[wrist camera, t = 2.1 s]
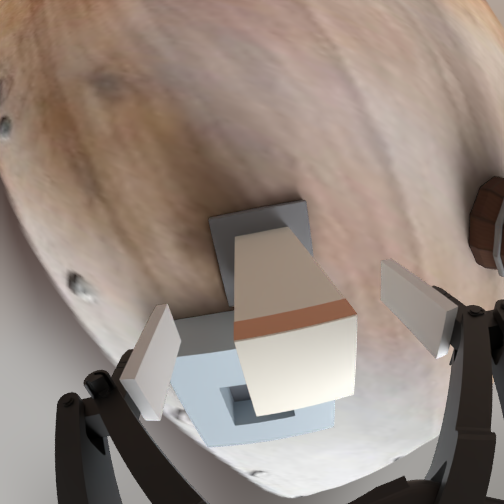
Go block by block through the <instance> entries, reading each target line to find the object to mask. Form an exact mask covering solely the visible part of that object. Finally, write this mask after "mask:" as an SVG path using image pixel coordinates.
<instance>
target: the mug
mask: <svg viewBox="0 0 504 504" xmlns="http://www.w3.org/2000/svg"><path fill="white" fill-rule="evenodd" d="M469 245H470V248H471V250H472V252H473V255H474V257H475V259H476V262H477V264H479V265H481V266H483V267H484V268H489V269H497V270H498V273H499V275H500V276H502V277H504V178H501V177H496V176H494V177H493V178H492V179H490V180H489V181H488V182H487V183H485V184H484V185H483V186H481V187H480V190H479V192H478V195H477V198H476V201H475V203H474V206H473V209H472V211H471V214H470V237H469Z"/></svg>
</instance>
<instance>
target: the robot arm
mask: <svg viewBox="0 0 504 504" xmlns="http://www.w3.org/2000/svg"><path fill="white" fill-rule="evenodd" d="M381 301H382V302H383V303H384V304H385V305H386V306H387V307H388V308H389V309H390V310H391V311H392V312H393V313H394V314H395V315H396V316H397V317H398V318H399V319H400V320H401V321H402V322H403V323H404V325H405V326H406V327H407V328H408V329H409V330H410V331H411V332H412V333H413V334H414V335H415V336H416V337H417V339H418V340H419V341H420V342H421V343H422V344H423V345H424V346H425V347H426V348H427V350H428V351H429V352H430V353H431V354H432V355H433V356H434V357H435V358H436V359H438V358H440V357H442V356H444V355H446V354H447V353H448V350H449V346H450V344H451V345H452V346H453V347H454V351H453V354H452V358H451V361H450V364H449V365H451V364H452V366H451V375H450V383H449V390H448V396H447V402H446V408H445V413H444V418H443V423H442V427H441V432H440V436H439V440H438V443H437V447H436V451H435V454H434V458H433V461H432V464H431V467H430V469H429V471H428V473H427V475H426V477H425V479H424V480H410V481H406V478H405V476H403V477H400V478H398V479H396V480H393V481H391V482H389V483H386V484H383V485H381V486H378V487H376V488H374V489H373V490H371V491H369V492H368V493H366V494H364V495H363V496H361V497H359V498H357V499H356V500H354V501H352V502H350V503H348V504H504V500H500V499H495V498H491V497H486V494H487V489H488V485H489V481H490V476H491V471H492V465H493V459H494V452H495V444H496V434H495V433H494V432H493V433H492V432H491V417H492V375H493V378H494V382H495V385H496V389H497V392H498V396H499V400H500V404H501V408H502V413H503V418H504V300H498V301H497V302H496V304H495V307H494V310H490V311H485V310H484V309H483V308H482V307H479V306H476V305H469V306H467V307H466V306H465V305H464V304H462V303H461V302H460V301H458V300H457V299H456V298H454V297H452V296H451V295H450V294H449V293H447V292H446V291H445V290H443V289H442V288H439V287H436V286H430V285H429V284H427V283H426V282H425V281H423V280H422V279H420V278H419V277H418V276H416V275H415V274H413V273H412V272H410V271H409V270H408V269H406V268H405V267H403V266H402V265H400V264H399V263H397V262H396V261H394V260H393V259H386V260H382V261H381ZM180 344H181V339H180V336H179V334H178V331H177V328H176V325H175V323H174V320H173V317H172V314H171V312H170V309H169V306H168V304H162V305H156V307H155V308H154V310H153V312H152V314H151V316H150V318H149V320H148V322H147V324H146V326H145V328H144V330H143V332H142V334H141V336H140V338H139V340H138V342H137V344H136V346H135V348H134V349H130V350H128V351H126V352H125V353H124V354H123V355H122V357H121V359H120V361H119V363H118V365H117V367H116V369H115V371H114V373H113V375H112V377H110V375H109V373H108V372H107V371H104V370H97V371H95V372H93V373H91V374H89V375H88V376H87V377H86V378H85V380H84V386H85V388H86V390H87V391H88V393H89V394H90V395H91V397H90V398H86V399H81V398H80V397H79V396H78V394H76V393H73V392H71V393H67V394H65V395H63V396H62V397H61V398H60V399H59V401H58V404H57V413H56V431H55V471H56V487H57V496H58V504H122V501H121V498H120V494H119V490H118V486H117V483H116V479H115V475H114V470H113V466H112V461H111V456H110V451H109V445H108V439H107V436H110V437H111V438H112V440H113V442H114V444H115V446H116V448H117V449H118V451H119V453H120V455H121V457H122V458H123V460H124V462H125V463H126V465H127V467H128V468H129V470H130V472H131V473H132V475H133V477H134V478H135V480H136V481H137V483H138V484H139V486H140V487H141V489H142V490H143V492H144V493H145V494H146V496H147V497H148V499H149V500H150V501H151V503H152V504H209V503H208V502H207V501H206V500H205V499H204V498H203V497H202V496H201V495H200V494H199V493H198V492H197V491H196V490H195V489H194V487H193V486H192V485H191V484H190V483H189V482H188V481H187V480H186V479H185V478H184V477H183V476H182V474H181V473H180V472H179V471H178V470H177V469H176V468H175V466H174V465H173V464H172V463H171V462H170V461H169V459H168V458H167V457H166V455H165V454H164V453H163V452H162V451H161V449H160V448H159V447H158V445H157V444H156V443H155V441H154V440H153V439H152V437H151V436H150V435H149V433H148V432H147V431H146V429H145V428H144V427H143V425H142V424H141V422H140V421H139V416H140V413H141V414H142V416H143V417H144V419H145V420H146V421H160V420H161V416H162V412H163V408H164V404H165V400H166V396H167V392H168V388H169V384H170V380H171V377H172V373H173V369H174V365H175V362H176V358H177V354H178V351H179V347H180Z"/></svg>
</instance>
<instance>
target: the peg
mask: <svg viewBox="0 0 504 504" xmlns="http://www.w3.org/2000/svg"><path fill="white" fill-rule="evenodd" d="M234 343H235V347H236V350H237V354H238V357H239V361H240V364H241V368H242V371H243V374H244V378H245V381H246V384H247V388H248V391H249V394H250V397H251V401H252V404H253V407H254V410H255V413H256V416H263V415H269V414H275V413H280V412H286V411H291V410H295V409H300V408H304V407H309V406H313V405H317V404H321V403H325V402H329V401H332V400H336V399H340V398H343V397H347V396H350V395H353V394H354V383H355V369H356V349H357V313H356V312H355V310H354V309H353V308H352V306H351V305H350V304H349V302H348V301H347V300H346V299H345V298H344V297H343V296H342V294H341V293H340V292H339V290H338V289H337V288H336V286H335V285H334V284H333V283H332V281H331V280H330V279H329V277H328V276H327V275H326V274H325V272H324V271H323V270H322V268H321V267H320V266H319V265H318V263H317V262H316V261H315V259H314V258H313V257H312V256H311V254H310V253H309V252H308V251H307V249H306V248H305V247H304V246H303V244H302V243H301V242H300V241H299V239H298V238H297V237H296V236H295V235H294V233H293V232H292V231H291V230H290V228H289V227H283V228H278V229H272V230H267V231H262V232H257V233H252V234H246V235H241V236H236V237H235V263H234Z"/></svg>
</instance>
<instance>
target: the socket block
mask: <svg viewBox="0 0 504 504" xmlns="http://www.w3.org/2000/svg"><path fill="white" fill-rule="evenodd" d="M174 323H175V325H176V328H177V331H178V334H179V336H180V339H181V344H180V347H179V351H178V354H177V358H176V362H175V365H174V369H173V373H172V377H171V380H170V383H171V385H172V387H173V389H174V391H175V392H176V394H177V396H178V398H179V400H180V402H181V403H182V405H183V407H184V409H185V411H186V412H187V414H188V416H189V418H190V419H191V421H192V423H193V424H194V426H195V428H196V429H197V431H198V433H199V434H200V436H201V438H202V439H203V441H204V442H205V444H206V445H207V447H221V446H233V445H242V444H251V443H258V442H265V441H271V440H277V439H283V438H288V437H293V436H298V435H303V434H307V433H312V432H316V431H320V430H324V429H328V428H331V427H334V414H335V400H332V401H329V402H325V403H321V404H317V405H313V406H309V407H304V408H300V409H295V410H291V411H286V412H280V413H275V414H269V415H263V416H256V413H255V410H254V407H253V404H252V401H251V397H250V394H249V391H248V388H247V384H246V381H245V378H244V374H243V371H242V368H241V364H240V361H239V357H238V354H237V350H236V347H235V343H234V310H233V311H227V312H222V313H216V314H210V315H204V316H197V317H191V318H184V319H178V320H174Z"/></svg>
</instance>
